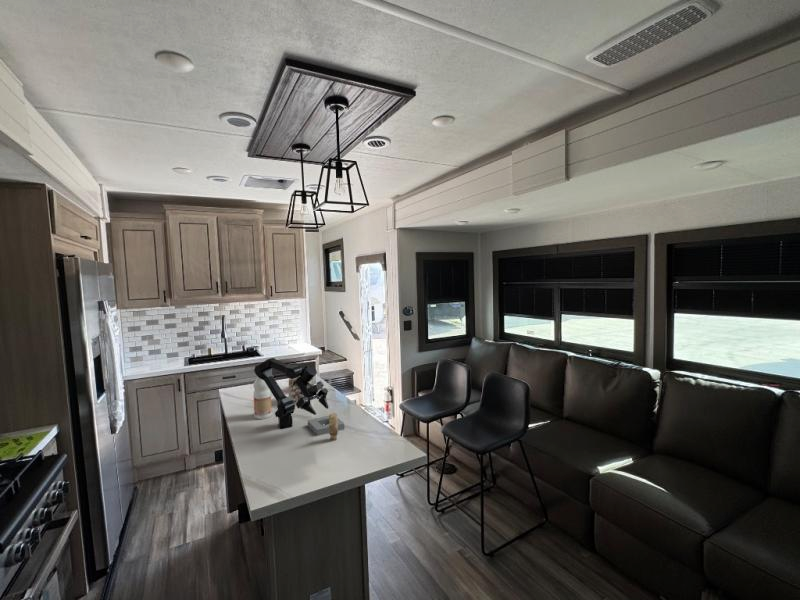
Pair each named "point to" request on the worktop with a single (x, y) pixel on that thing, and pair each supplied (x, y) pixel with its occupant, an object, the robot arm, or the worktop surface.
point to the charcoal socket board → (322, 429)
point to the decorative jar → (294, 391)
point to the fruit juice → (262, 399)
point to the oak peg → (333, 426)
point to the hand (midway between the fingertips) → (321, 411)
